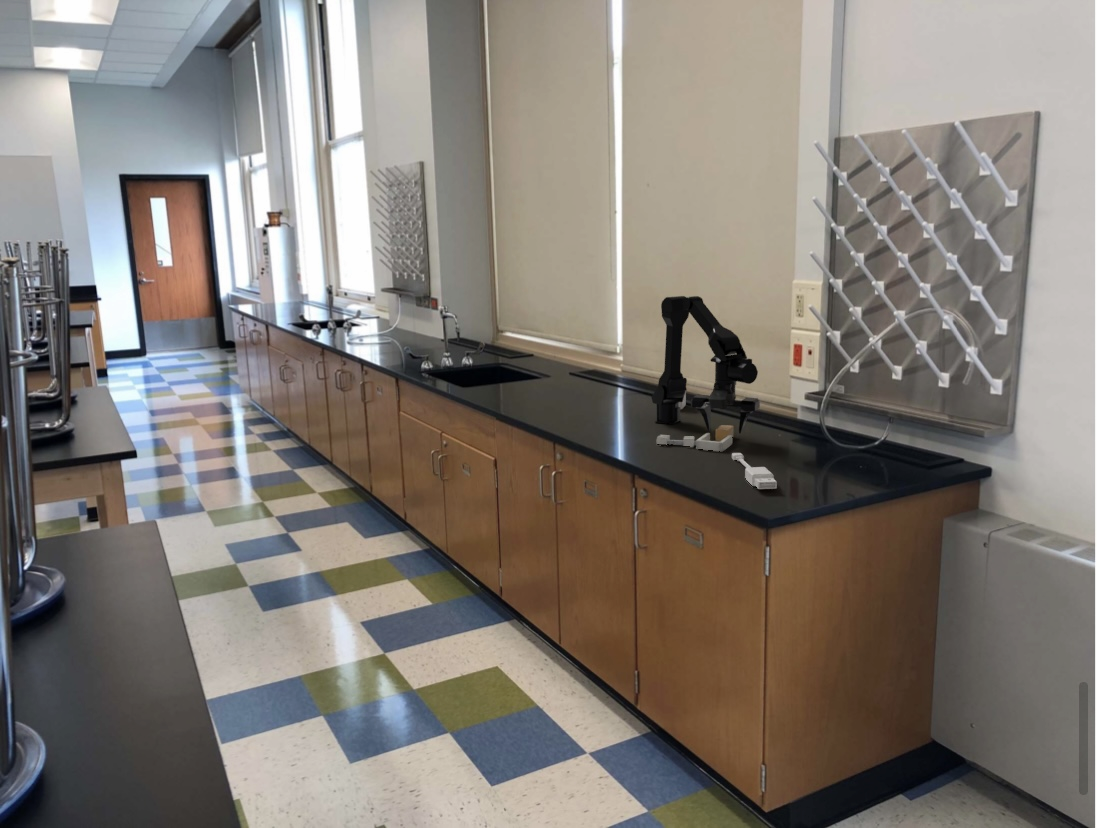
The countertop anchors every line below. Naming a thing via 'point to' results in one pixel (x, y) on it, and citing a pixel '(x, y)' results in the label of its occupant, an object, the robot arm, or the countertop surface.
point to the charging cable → (757, 474)
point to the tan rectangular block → (723, 432)
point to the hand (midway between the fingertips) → (724, 431)
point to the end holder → (713, 443)
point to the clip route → (666, 440)
